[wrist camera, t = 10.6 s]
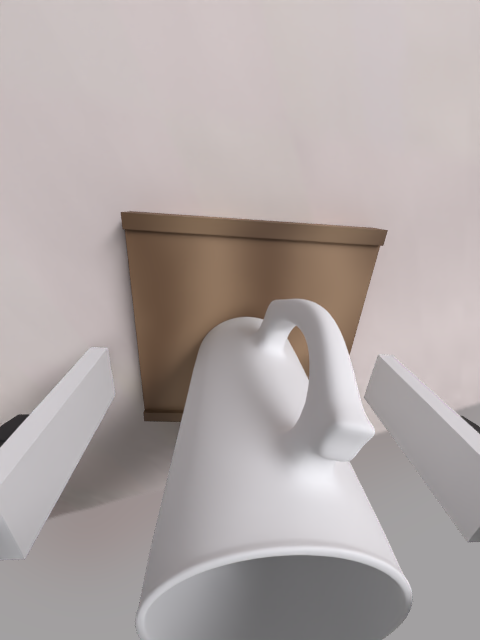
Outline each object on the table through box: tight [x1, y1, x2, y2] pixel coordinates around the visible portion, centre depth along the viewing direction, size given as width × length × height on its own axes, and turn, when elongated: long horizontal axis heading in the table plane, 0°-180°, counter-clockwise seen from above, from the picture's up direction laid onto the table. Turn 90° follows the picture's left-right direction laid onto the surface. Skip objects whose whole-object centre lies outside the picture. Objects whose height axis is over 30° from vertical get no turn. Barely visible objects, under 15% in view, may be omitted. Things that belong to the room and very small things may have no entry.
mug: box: [135, 299, 413, 640], centre depth 11 cm, size 10×7×12 cm, turn 162°
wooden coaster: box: [121, 211, 388, 422], centre depth 17 cm, size 14×14×2 cm
